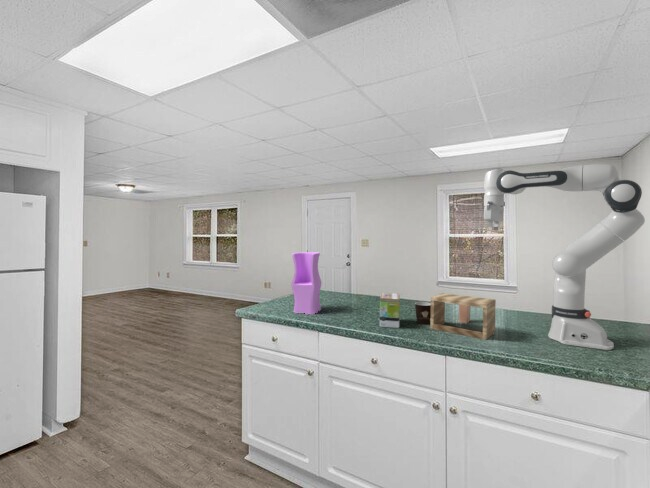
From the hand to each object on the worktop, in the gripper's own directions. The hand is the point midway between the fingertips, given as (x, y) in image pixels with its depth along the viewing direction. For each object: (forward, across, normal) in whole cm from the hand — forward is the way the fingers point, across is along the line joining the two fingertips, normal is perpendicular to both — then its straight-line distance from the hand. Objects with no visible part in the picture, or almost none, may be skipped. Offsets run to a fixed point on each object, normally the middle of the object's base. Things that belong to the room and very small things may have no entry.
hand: (493, 230), depth 164 cm
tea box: (+48, -29, +41) cm, 70 cm away
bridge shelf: (+48, -17, +9) cm, 52 cm away
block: (+48, 0, +13) cm, 50 cm away
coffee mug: (+48, -16, +27) cm, 58 cm away
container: (+48, -38, +92) cm, 111 cm away
